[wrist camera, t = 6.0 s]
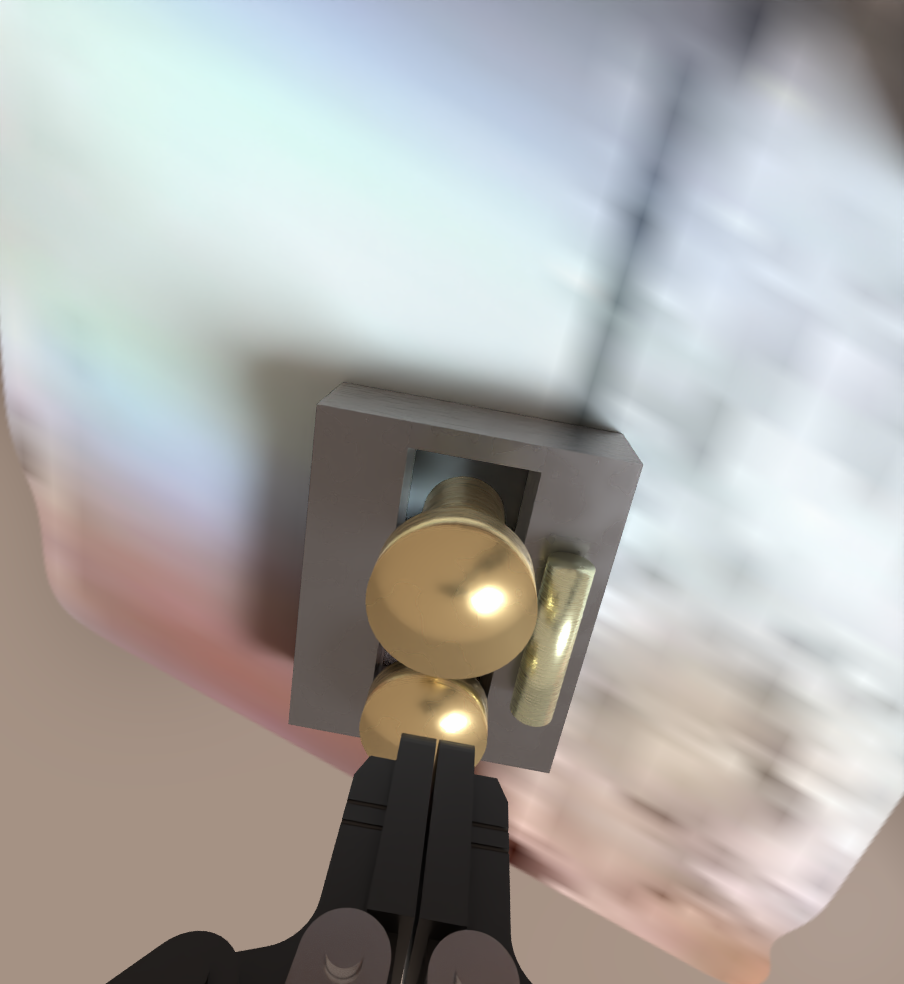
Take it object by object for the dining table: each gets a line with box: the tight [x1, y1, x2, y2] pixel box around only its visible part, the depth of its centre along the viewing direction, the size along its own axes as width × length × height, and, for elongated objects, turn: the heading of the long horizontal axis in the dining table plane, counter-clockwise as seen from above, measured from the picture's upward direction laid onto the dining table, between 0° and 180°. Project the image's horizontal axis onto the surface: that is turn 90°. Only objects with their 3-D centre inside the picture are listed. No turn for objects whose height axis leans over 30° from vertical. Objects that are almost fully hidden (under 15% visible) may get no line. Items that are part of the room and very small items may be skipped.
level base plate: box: [288, 382, 643, 773], centre depth 26 cm, size 15×12×6 cm
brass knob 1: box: [365, 476, 538, 679], centre depth 21 cm, size 5×5×7 cm
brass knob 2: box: [359, 661, 488, 767], centre depth 27 cm, size 5×5×7 cm
